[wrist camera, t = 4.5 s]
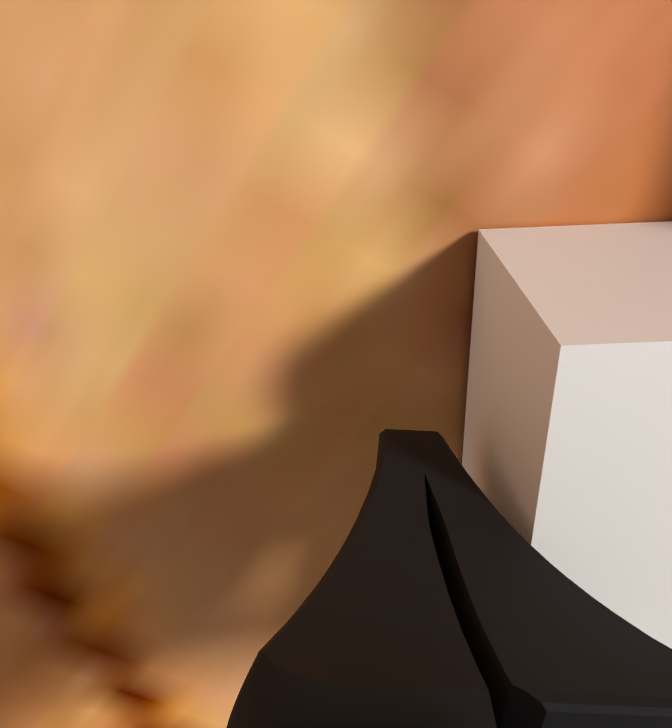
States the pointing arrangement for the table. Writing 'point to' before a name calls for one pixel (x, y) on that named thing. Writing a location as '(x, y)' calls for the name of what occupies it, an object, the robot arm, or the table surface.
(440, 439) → the robot arm
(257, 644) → the table surface
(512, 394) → the block
